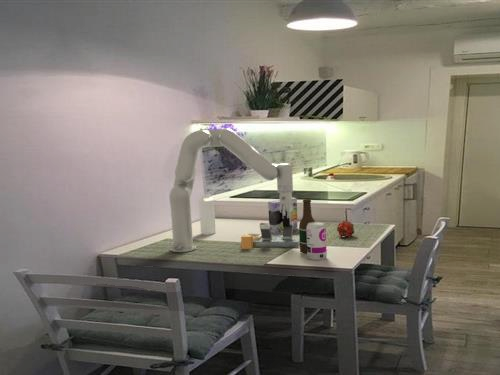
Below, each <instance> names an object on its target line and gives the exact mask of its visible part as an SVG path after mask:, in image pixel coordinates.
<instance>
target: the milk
mask: <svg viewBox="0 0 500 375" xmlns="http://www.w3.org/2000/svg"><path fill="white" fill-rule="evenodd" d="M198 206H199V222H200V224H199V225H200V234H201V235H205V236H209V235H214V234H216V213H215V199H213V197H212V196H211V194H210V193H208V194H203V195H201V198H200V199H199V200H198Z"/></svg>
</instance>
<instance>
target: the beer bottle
mask: <svg viewBox="0 0 500 375" xmlns="http://www.w3.org/2000/svg"><path fill="white" fill-rule="evenodd" d="M311 200H312V199H311V198H310V199H308V198H305V199H303V200H302V203H303V205H302V206H303V208H302V217H301V219H300V221H299V224H298V225H299V226H298V232H299V234H298V236H299V239H300V245H299V251H300V253H302V254H306V255H307V229H306V227H307V225H308V223H311V222H316V220H315V219H314V217H313V215H312V214H313V213H312V206H311V202H312V201H311Z"/></svg>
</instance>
